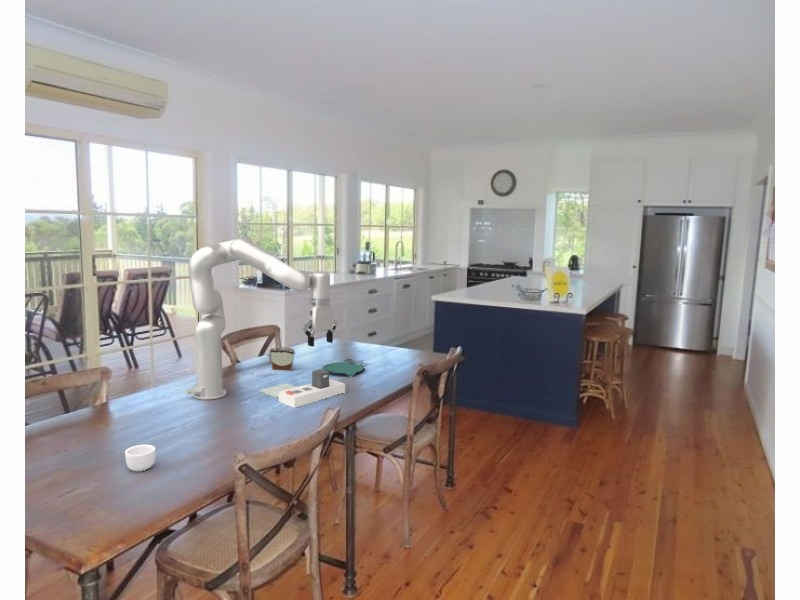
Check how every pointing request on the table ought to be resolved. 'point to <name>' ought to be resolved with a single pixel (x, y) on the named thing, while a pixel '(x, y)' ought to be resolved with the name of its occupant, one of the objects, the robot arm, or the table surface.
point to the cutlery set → (344, 368)
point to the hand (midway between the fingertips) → (320, 344)
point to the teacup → (140, 457)
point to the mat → (276, 389)
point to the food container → (282, 358)
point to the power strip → (310, 393)
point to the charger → (320, 378)
